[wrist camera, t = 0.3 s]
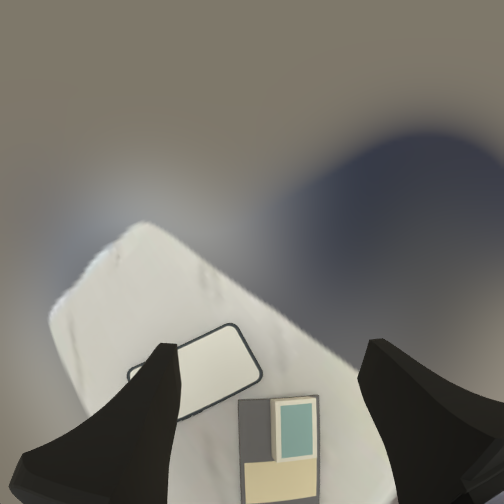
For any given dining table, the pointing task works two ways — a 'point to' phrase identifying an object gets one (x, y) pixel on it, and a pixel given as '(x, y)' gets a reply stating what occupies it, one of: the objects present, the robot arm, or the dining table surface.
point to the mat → (273, 461)
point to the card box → (293, 428)
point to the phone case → (213, 369)
